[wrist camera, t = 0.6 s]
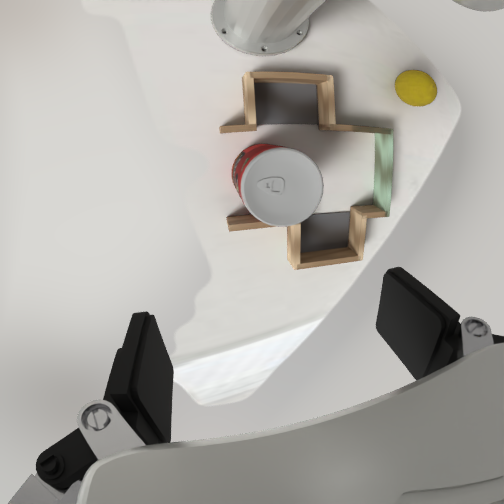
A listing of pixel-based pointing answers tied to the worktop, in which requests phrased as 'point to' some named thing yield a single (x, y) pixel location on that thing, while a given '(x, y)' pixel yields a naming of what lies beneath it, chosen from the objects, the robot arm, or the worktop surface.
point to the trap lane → (305, 112)
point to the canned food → (277, 184)
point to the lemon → (415, 88)
